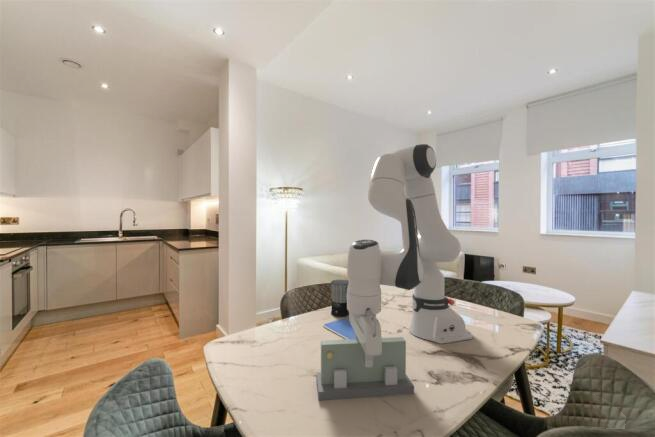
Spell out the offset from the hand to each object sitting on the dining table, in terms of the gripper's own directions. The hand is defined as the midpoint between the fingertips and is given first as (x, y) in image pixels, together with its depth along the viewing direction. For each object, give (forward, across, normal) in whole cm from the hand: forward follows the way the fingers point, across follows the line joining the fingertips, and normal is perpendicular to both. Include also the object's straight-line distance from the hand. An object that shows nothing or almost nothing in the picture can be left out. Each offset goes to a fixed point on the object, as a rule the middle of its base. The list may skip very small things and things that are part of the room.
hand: (363, 355), depth 70 cm
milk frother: (+8, +56, -6) cm, 57 cm away
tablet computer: (+9, +35, -3) cm, 36 cm away
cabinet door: (+6, 0, 0) cm, 6 cm away
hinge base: (+8, 0, 0) cm, 8 cm away
